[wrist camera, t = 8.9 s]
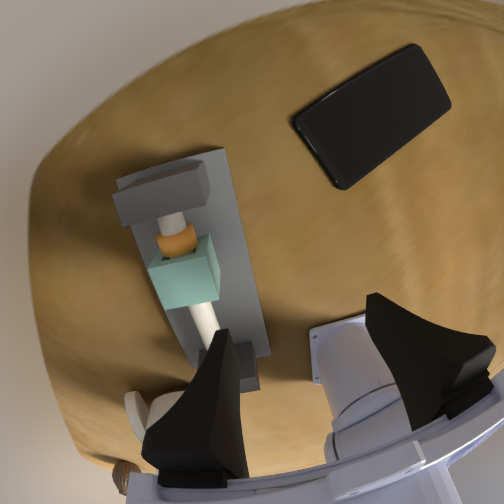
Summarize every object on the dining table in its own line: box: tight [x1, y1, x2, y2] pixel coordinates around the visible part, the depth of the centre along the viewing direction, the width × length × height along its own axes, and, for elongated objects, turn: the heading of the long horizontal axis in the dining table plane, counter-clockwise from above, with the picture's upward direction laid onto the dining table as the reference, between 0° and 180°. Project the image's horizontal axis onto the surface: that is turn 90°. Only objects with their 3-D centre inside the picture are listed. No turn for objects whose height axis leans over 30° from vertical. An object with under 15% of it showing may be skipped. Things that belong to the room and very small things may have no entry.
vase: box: [112, 461, 142, 496], centre depth 37 cm, size 7×7×9 cm
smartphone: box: [292, 44, 451, 190], centre depth 17 cm, size 7×1×15 cm
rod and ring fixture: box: [112, 148, 272, 393], centre depth 20 cm, size 19×8×6 cm, turn 11°
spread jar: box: [124, 387, 187, 475], centre depth 24 cm, size 12×11×12 cm
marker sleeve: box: [148, 233, 220, 310], centre depth 17 cm, size 3×4×4 cm
